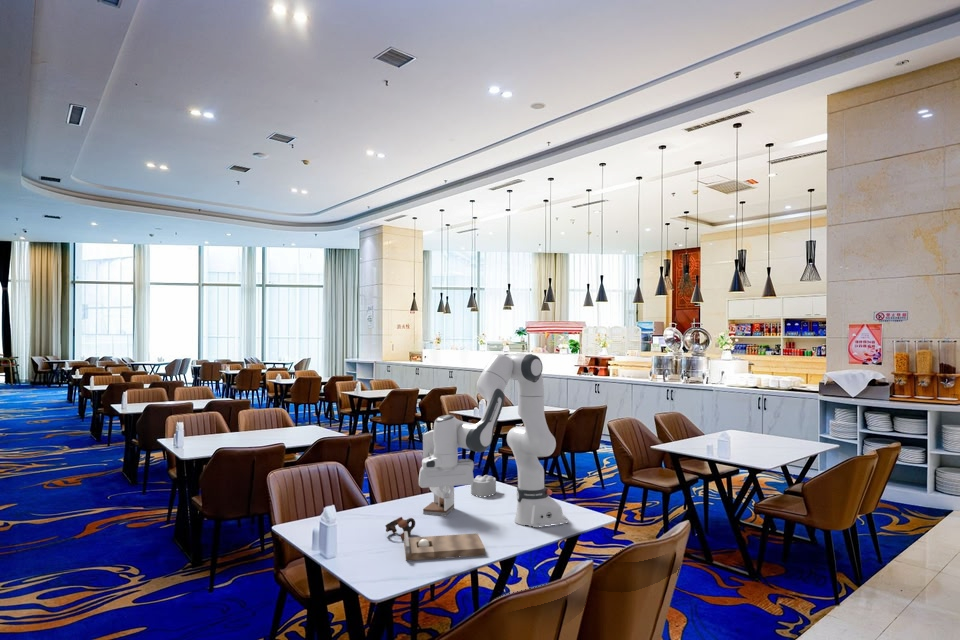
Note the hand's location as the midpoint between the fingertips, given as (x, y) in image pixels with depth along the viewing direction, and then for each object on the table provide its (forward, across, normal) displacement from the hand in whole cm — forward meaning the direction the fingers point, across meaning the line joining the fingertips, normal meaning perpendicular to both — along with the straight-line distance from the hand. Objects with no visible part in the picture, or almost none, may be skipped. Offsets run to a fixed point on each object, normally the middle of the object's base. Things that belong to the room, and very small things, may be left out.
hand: (446, 497), depth 212 cm
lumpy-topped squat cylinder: (+20, -27, -72) cm, 79 cm away
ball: (+16, +9, 0) cm, 18 cm away
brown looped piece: (+19, +16, -18) cm, 31 cm away
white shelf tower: (+19, -1, -48) cm, 52 cm away
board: (+19, +2, 0) cm, 19 cm away
